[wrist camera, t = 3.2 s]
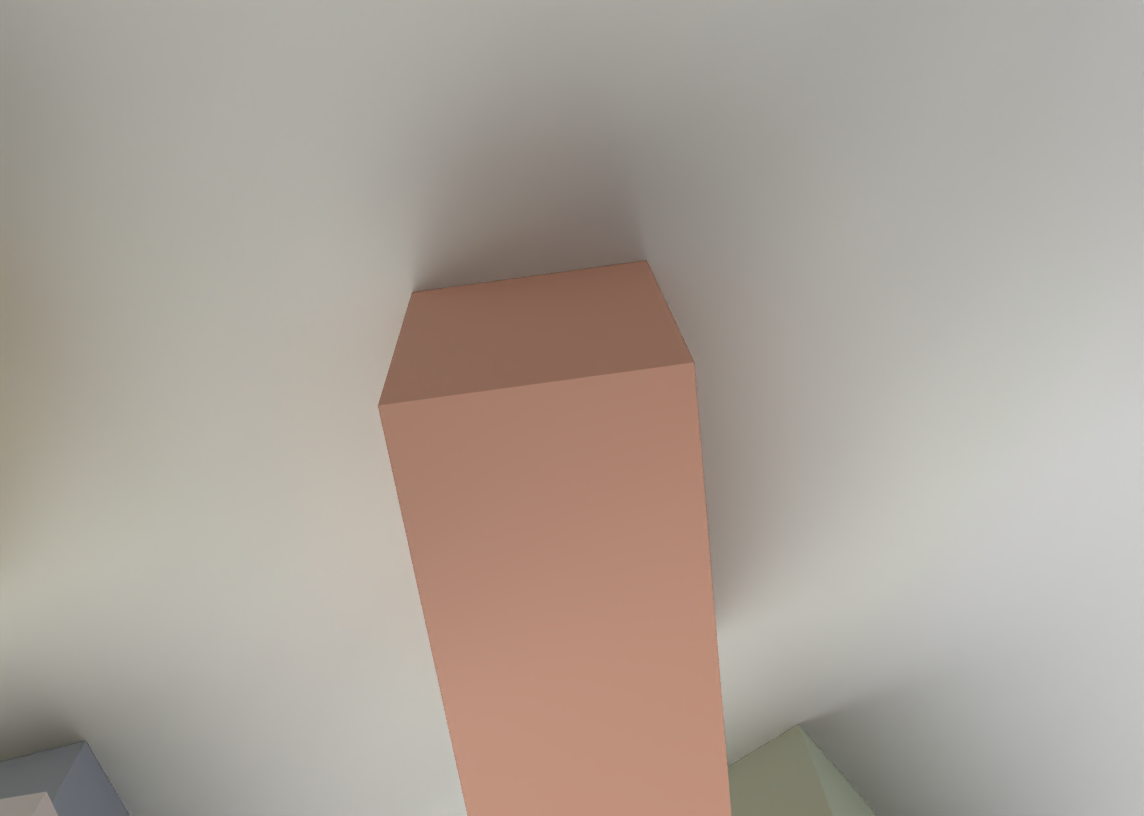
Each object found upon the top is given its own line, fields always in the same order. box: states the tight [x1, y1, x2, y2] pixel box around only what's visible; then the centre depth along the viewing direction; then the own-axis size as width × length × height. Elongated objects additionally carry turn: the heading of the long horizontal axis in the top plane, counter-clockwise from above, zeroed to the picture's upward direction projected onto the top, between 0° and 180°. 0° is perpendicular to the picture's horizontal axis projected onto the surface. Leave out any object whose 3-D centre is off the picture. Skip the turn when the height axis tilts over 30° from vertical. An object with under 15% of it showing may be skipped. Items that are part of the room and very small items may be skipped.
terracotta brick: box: [378, 260, 731, 816], centre depth 17 cm, size 8×4×5 cm, turn 7°
